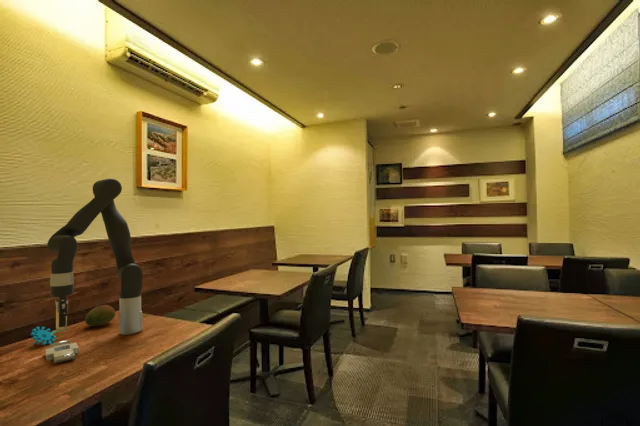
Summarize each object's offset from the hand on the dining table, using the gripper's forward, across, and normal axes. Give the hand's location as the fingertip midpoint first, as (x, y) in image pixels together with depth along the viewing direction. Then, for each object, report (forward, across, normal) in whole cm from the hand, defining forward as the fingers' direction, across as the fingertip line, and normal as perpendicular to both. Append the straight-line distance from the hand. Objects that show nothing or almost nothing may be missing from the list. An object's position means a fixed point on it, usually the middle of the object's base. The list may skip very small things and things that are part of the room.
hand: (61, 325), depth 132 cm
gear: (+12, +20, +4) cm, 24 cm away
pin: (+2, 0, 0) cm, 2 cm away
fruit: (+12, +32, -18) cm, 38 cm away
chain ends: (+12, 0, 0) cm, 12 cm away
